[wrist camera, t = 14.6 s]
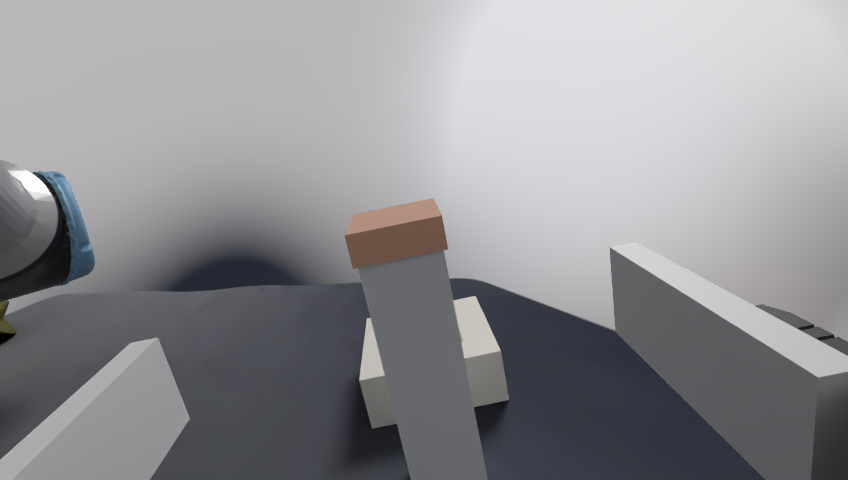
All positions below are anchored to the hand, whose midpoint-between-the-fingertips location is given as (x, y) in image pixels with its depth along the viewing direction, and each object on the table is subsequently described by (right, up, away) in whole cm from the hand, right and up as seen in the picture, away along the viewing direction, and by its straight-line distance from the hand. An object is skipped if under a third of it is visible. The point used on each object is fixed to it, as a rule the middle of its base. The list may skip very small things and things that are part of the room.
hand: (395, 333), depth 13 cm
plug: (+2, -11, +14) cm, 18 cm away
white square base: (+2, -8, +24) cm, 26 cm away
